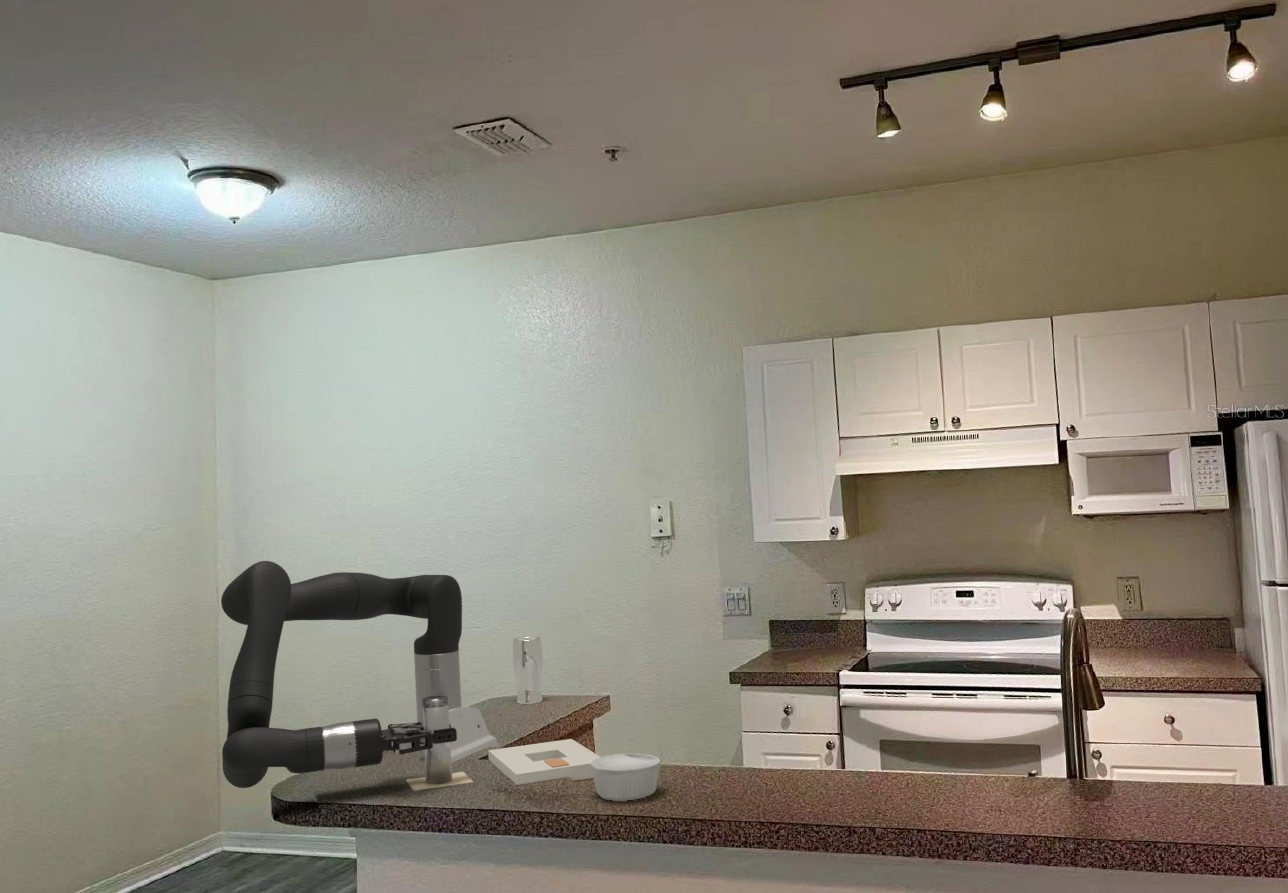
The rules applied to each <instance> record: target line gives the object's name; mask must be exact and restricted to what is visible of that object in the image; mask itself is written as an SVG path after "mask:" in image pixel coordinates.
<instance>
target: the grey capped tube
mask: <svg viewBox="0 0 1288 893" xmlns="http://www.w3.org/2000/svg"><path fill="white" fill-rule="evenodd" d="M422 712H423V731H425V730H439V729H446V728H450V727H449V707H448V696H430V697H426V698H423V699H422ZM423 742H425V738H424V740H423ZM423 751H424V766H425V768H424V769H425V777H426V783H428V784H442V783H447V782H450V781H451V780H452V773H453V772H452V771H453V770H452V765H453V764H452V763H451V746H450V742H446V743H439V744H435V745H434V746H433V748H431V749H426V750H423Z"/></svg>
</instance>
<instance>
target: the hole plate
mask: <svg viewBox="0 0 1288 893" xmlns="http://www.w3.org/2000/svg"><path fill="white" fill-rule="evenodd" d="M487 752H488V761H489V762H491V763H492V764H493V766H495V767H496V768H497V769H498V770H499V771H500V772H502V773H503V774H504V775H505V776H506V777H507V778H509V780H510V781H512V782H513V783H514V784H515V785H516V786H518V785H519V786H520V785H525V784H533V783H534V784H535V783H539V782H545V781H553V780H559V779H566V778H569V779H570V780H572V781H573V782H576V781H582V780H590V779H594V778H593V773H592V771H591V768H590V764H591V762H592V761H593V760H595V759H597V758H600V757H601V756H600V755H598V754H596V753H595V752H594V751H592V750H590V749H589V748H587V747H585V746H584V745H582V744H581V743H579V742H578V741H576V740H574V739H572V738H567V739H560V740H552V741H545V742H540V743H533V744H532V743H531V744H527V745H526V744H525V745H518V746H511V747H509V746H508V747H502V748H496V749H489V750H488V751H487Z"/></svg>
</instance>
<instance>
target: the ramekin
mask: <svg viewBox="0 0 1288 893" xmlns="http://www.w3.org/2000/svg"><path fill="white" fill-rule="evenodd" d="M661 764H662V762H661V760H660V759H659V757H657V756H655V755H650V754H645V753H636V752H635V753H615V754H608V755H604V756H600V758H597V759H595V760H593V761H592V762H591V764H590V768H591V771H592V773H593V778H592V779H593V783H594V787H595V791H596V794H597V795H598V796H599V797H600V798H601V799H602V800H607V801H610V800H612V801H611V802H628V801H627V800H633V799H639V798H643V797H646V796H649V795H651V794H653V793H655V792H656V790H657V787H658V780H659V774H660V773H659V771H660V768H661ZM653 795H654V794H653ZM651 796H652V795H651ZM649 797H650V796H649Z"/></svg>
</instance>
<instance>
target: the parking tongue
mask: <svg viewBox="0 0 1288 893" xmlns="http://www.w3.org/2000/svg"><path fill="white" fill-rule="evenodd" d="M405 781H406V782H407V783H408V786H409V787H410V788H411V790H412V791H413V792H416V791H422V790H428V789H436V788H442V787H443V788H444V787H448V786H455V785H462V784H463V785H464V784H469V783H474V781H473V779H472V778H470V777H469V776H468V775H467V773H465V772H464V771H458V772H452V780H451V781H450V782H447V783H442V784H428V783H426V776H424V777H422V776H421V777H416V778H409V779H405Z"/></svg>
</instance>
